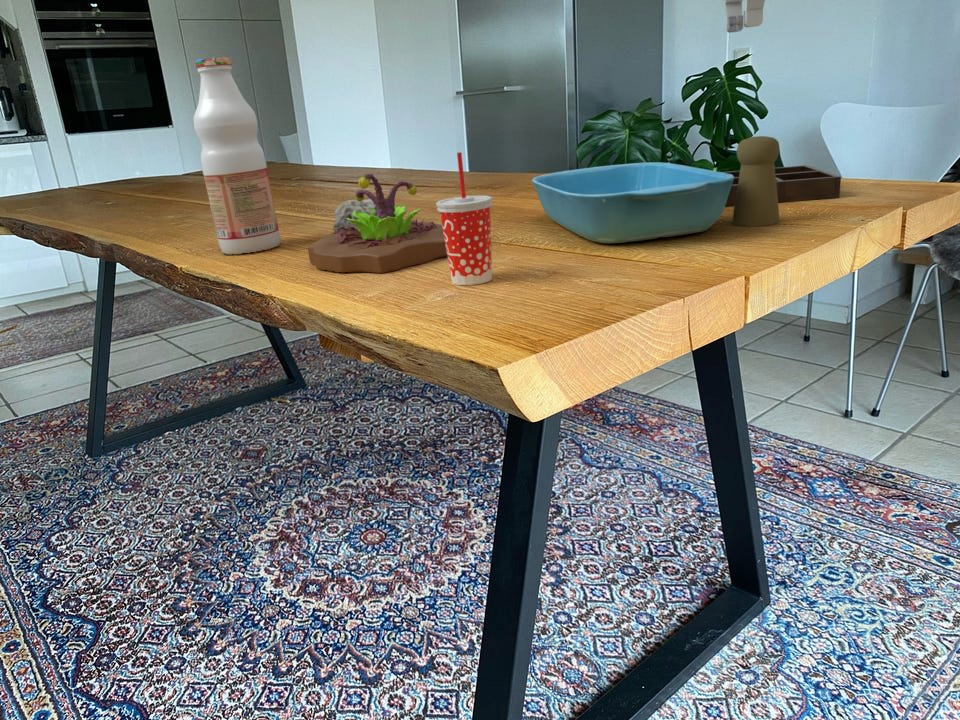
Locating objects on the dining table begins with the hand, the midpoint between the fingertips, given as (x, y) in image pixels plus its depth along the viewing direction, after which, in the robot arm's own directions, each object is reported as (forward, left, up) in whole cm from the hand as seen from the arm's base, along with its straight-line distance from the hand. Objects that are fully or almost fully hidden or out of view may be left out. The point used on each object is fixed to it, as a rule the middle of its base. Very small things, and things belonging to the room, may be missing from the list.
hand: (743, 29), depth 89 cm
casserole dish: (+14, -8, -24) cm, 29 cm away
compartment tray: (-10, -25, -24) cm, 36 cm away
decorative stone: (+57, -23, -24) cm, 66 cm away
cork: (-3, -3, -24) cm, 24 cm away
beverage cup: (+33, +19, -24) cm, 45 cm away
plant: (+47, +2, -24) cm, 53 cm away
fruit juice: (+72, -11, -24) cm, 77 cm away
